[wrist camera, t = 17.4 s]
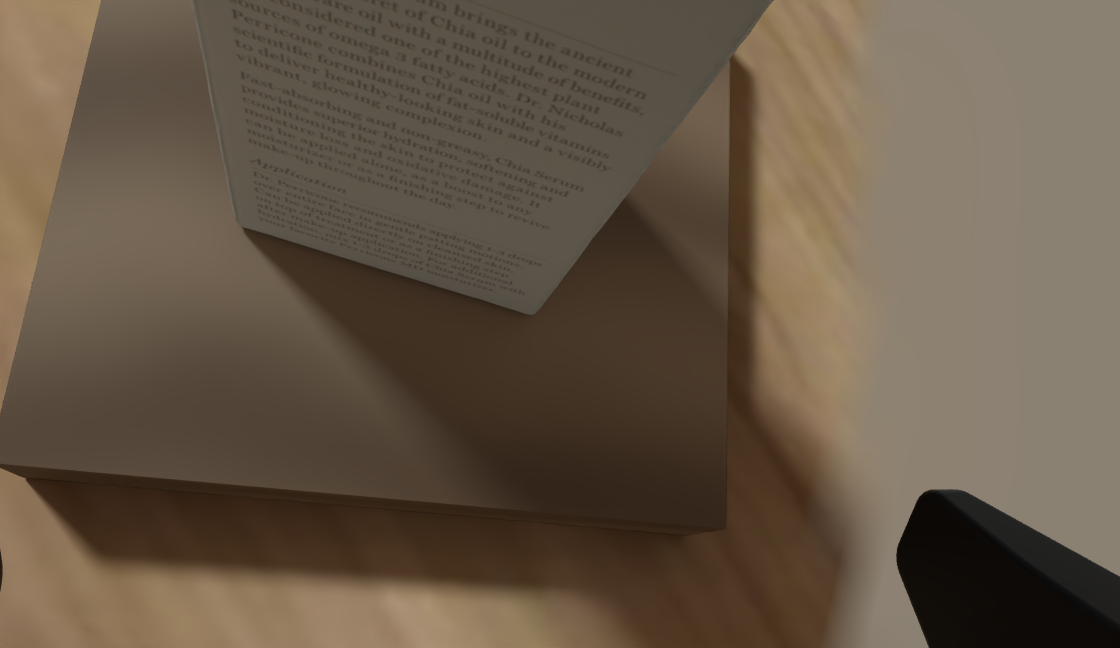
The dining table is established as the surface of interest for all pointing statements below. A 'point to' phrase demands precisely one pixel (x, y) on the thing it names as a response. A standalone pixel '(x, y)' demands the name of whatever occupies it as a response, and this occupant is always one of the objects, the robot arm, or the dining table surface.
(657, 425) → the walnut plinth
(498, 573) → the dining table surface
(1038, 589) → the robot arm
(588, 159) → the skincare box
